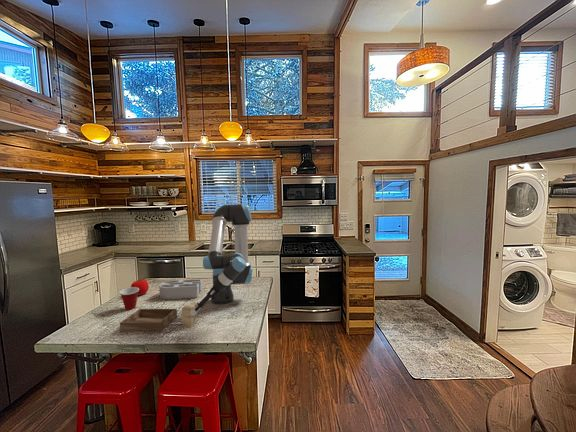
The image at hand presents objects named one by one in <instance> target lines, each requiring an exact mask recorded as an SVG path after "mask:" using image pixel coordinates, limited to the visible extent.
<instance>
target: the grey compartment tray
mask: <svg viewBox="0 0 576 432" xmlns="http://www.w3.org/2000/svg"><path fill="white" fill-rule="evenodd" d="M158 287H159V288H158V289H159V297H160V298H161V299H162V300H179V299H180V300H182V298H183V299H197V298H198V297H199V295H200V292H202V291H203V279H202V278H198V279H197V278H195V279H176V280H168V281H167V280H166V281H163V282H161V283H160V284H159V285H158Z"/></svg>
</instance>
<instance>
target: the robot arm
mask: <svg viewBox="0 0 576 432" xmlns="http://www.w3.org/2000/svg"><path fill="white" fill-rule="evenodd" d="M251 222H252V214H251V207H250V205H249V204H245V203H242V204H241V203H240V204H224V205H221V206H219V207H218V208H217V209H216V210H215V211H214V213H213V215H212V217H211V224H212V226H211V228H212V229H211V233H210V243H209V248H208V253H207V255H204V257H203V258H202V267H203V269H204V270H212V287H210V290H208V291H207V293H206V295H205V296H204V297H203V298H202V299H201V301H199V302H196V306H195V308H194V309H193V310H192V311H191V312H190V314H192V315H193V316H194V315H195V316H196V314H198V313H199V311H200V310H201V309H203V307H204V306H205V304H206V303H207V302H208V301H210V302H211V303H213V304H217V305H222V304H228V303H231V302H233V301H234V299H235V296H234V293H233V290H232V286H231V285H248V284H251V282H252V277H253V268H254V266H252V265H251V263H250V262H249V245H248V244H249V243H248V240H249V239H248V226H250V223H251ZM228 223H231V225H232V227H233V228H234V232H233V233H234V253H233V254H227V255H223V247H224V237H225V228H226V225H227V224H228Z"/></svg>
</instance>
